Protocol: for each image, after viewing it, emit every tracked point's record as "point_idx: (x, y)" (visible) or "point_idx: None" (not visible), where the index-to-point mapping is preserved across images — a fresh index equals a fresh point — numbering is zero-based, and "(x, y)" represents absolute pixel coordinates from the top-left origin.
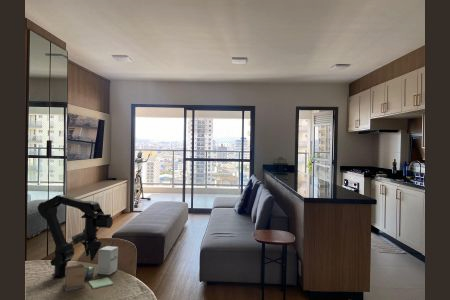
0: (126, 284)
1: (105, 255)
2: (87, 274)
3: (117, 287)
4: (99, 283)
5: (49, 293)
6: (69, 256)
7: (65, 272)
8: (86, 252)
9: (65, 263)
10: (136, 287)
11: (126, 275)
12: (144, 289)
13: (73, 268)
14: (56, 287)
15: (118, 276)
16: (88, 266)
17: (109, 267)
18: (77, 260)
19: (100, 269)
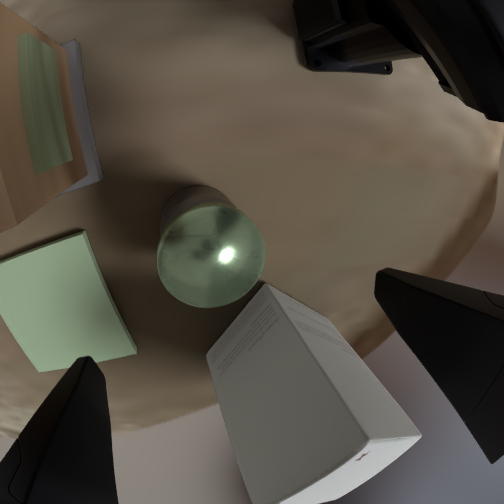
0: None
1: (273, 446)
2: (161, 228)
3: (11, 376)
4: (33, 308)
5: (3, 4)
6: (434, 35)
7: (20, 22)
8: (416, 300)
9: (390, 26)
10: (23, 425)
11: (169, 417)
12: (13, 435)
13: None
14: (79, 5)
15: (163, 391)
16: (259, 251)
17: (217, 390)
18: (495, 171)
19: (258, 321)
